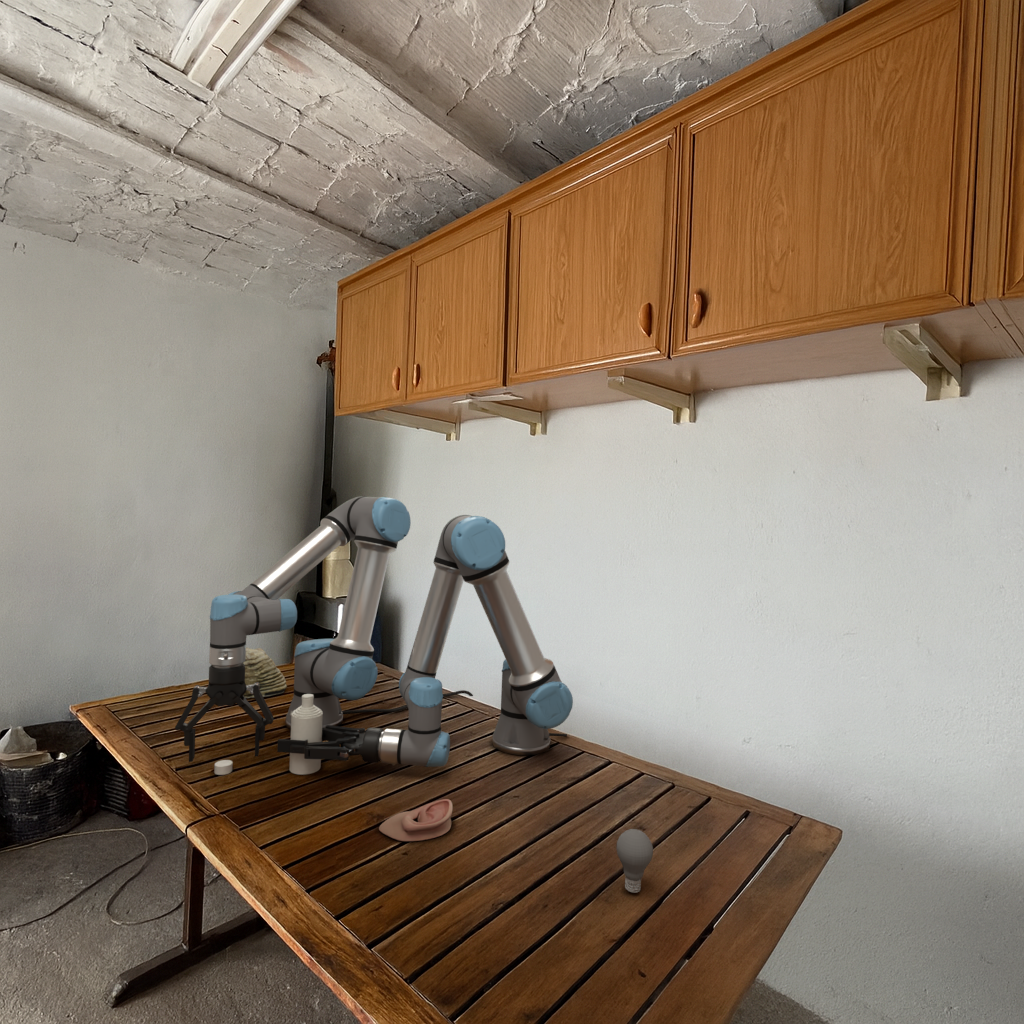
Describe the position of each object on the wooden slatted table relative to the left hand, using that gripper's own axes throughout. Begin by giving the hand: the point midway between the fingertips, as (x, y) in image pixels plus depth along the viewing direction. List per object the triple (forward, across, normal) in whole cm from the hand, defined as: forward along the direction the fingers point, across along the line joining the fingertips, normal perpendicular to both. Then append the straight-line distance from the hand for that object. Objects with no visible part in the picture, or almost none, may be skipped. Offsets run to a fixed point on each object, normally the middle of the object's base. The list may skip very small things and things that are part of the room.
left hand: (224, 756), depth 144 cm
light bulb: (+3, +70, -62) cm, 94 cm away
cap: (+2, 0, 0) cm, 2 cm away
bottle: (+3, +18, -2) cm, 18 cm away
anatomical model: (+3, +38, -34) cm, 51 cm away
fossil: (+3, +2, +56) cm, 56 cm away
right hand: (-3, +13, 0) cm, 13 cm away
